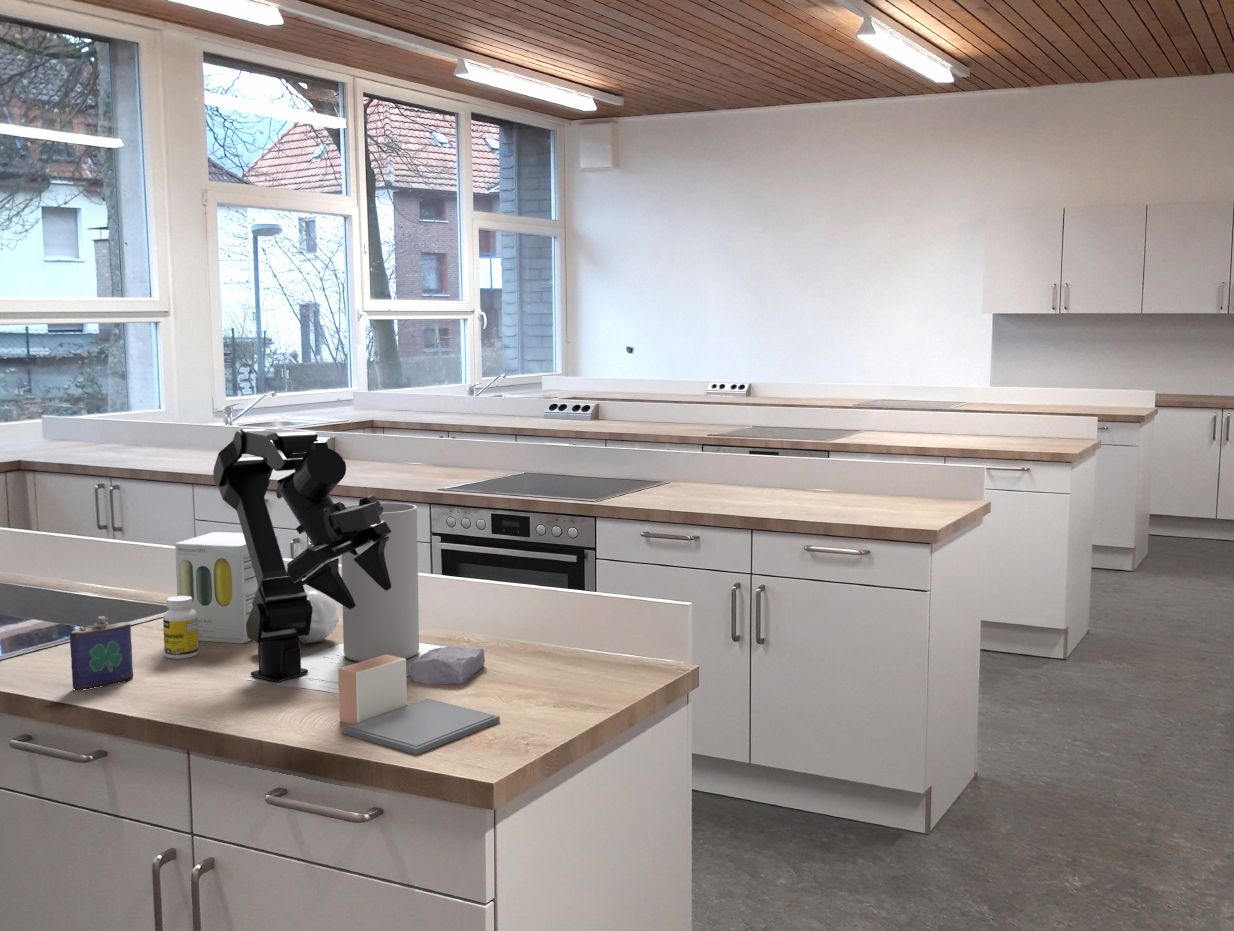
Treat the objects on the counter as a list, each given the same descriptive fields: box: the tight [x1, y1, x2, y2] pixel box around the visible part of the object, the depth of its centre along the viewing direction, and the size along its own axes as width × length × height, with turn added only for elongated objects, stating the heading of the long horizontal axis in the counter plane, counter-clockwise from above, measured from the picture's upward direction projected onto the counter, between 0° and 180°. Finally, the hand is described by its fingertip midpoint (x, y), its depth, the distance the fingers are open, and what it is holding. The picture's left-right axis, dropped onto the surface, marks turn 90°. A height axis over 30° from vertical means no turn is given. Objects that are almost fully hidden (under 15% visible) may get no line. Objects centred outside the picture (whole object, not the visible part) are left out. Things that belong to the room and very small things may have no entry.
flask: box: [69, 615, 134, 691], centre depth 180 cm, size 9×3×11 cm, turn 138°
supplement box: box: [174, 531, 279, 644], centre depth 211 cm, size 13×13×18 cm
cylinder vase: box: [340, 502, 420, 663], centre depth 196 cm, size 12×12×25 cm
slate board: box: [342, 698, 501, 756], centre depth 160 cm, size 14×16×1 cm
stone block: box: [408, 644, 486, 685], centre depth 186 cm, size 12×5×10 cm
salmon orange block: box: [337, 654, 408, 725], centre depth 165 cm, size 4×9×8 cm, turn 144°
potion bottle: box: [297, 588, 339, 644], centre depth 203 cm, size 9×10×15 cm
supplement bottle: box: [162, 595, 200, 660], centre depth 196 cm, size 5×5×10 cm
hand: (371, 598), depth 171 cm, fingers open, 9 cm apart
